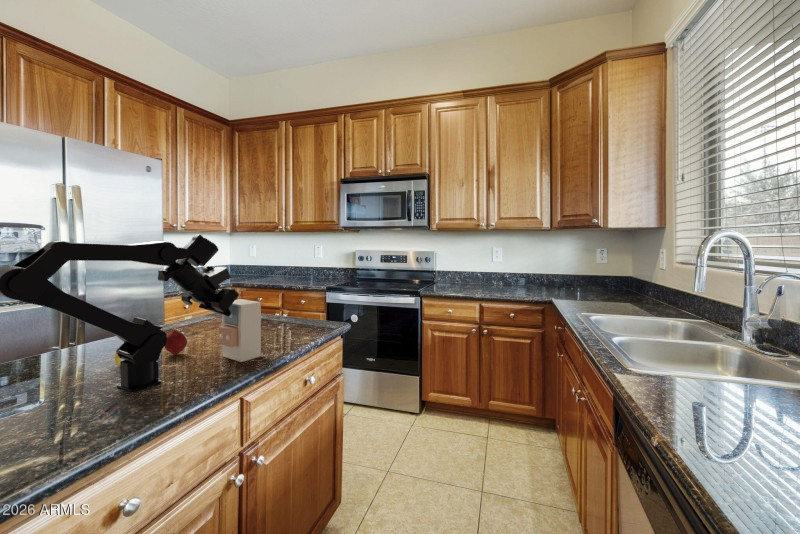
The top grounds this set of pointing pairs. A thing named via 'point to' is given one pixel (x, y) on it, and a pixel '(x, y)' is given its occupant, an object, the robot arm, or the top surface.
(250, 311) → the box
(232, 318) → the upper drawer
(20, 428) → the top surface
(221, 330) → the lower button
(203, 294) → the robot arm
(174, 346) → the onion
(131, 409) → the top surface
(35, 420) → the top surface
